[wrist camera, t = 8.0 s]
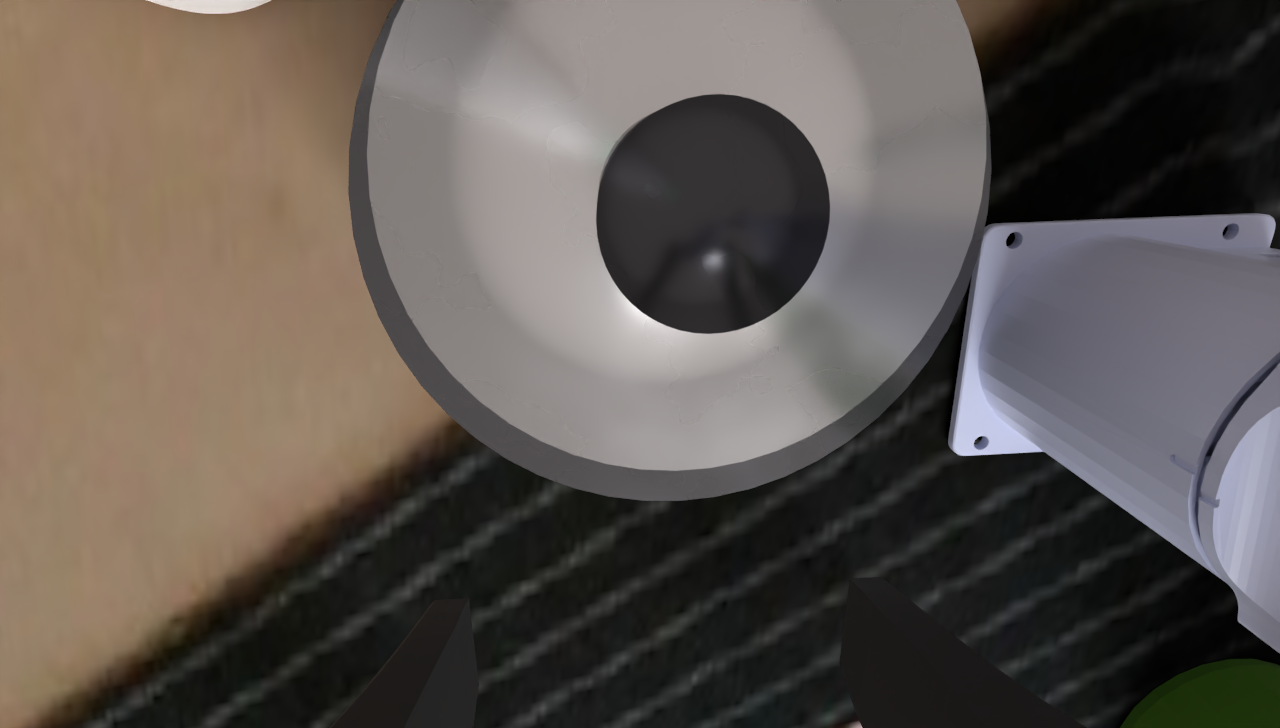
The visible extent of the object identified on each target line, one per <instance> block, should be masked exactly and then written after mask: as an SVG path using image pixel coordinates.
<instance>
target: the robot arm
mask: <svg viewBox="0 0 1280 728" xmlns="http://www.w3.org/2000/svg"><path fill="white" fill-rule="evenodd" d="M1227 225H1228V230H1227V232H1226V233H1225V235H1223V230H1224V228H1225V227H1226V226H1227ZM1275 225H1276V223H1275V220H1274V218H1273V217H1271V216H1270V215H1266V214H1259V213H1244V214H1219V215H1194V216H1169V217H1143V218H1118V219H1093V220H1068V221H1042V222H1017V223H994V224H990V225H988V226H986V227H985V228H984V232H983V237H982V242H981V247H980V251H979V255H978V258H977V261H976V264H975V267H974V270H973V273H972V277H971V284H970V291H969V298H968V305H967V312H966V319H965V326H964V333H963V340H962V347H961V354H960V361H959V368H958V375H957V382H956V389H955V396H954V402H953V409H952V416H951V423H950V430H949V437H948V445H949V446H950V448H951V449H952V450H953V451H954V452H955V453H957V454H958V455H962V456H972V455H990V454H1009V453H1027V452H1045V453H1047V454H1048V455H1049V456H1051V457H1052V458H1054V459H1055V460H1056V461H1058V462H1059V463H1061V464H1062V465H1063V466H1065V467H1066V468H1067V469H1069V470H1070V471H1072V472H1073V473H1074V474H1076V475H1077V476H1079V477H1080V478H1081V479H1083V480H1084V481H1086V482H1087V483H1088V484H1090V485H1091V486H1092V487H1094V488H1095V489H1097V490H1098V491H1099V492H1101V493H1102V494H1104V495H1105V496H1106V497H1108V498H1109V499H1111V500H1112V501H1113V502H1115V503H1116V504H1117V505H1119V506H1120V507H1122V508H1123V509H1124V510H1126V511H1127V512H1129V513H1130V514H1131V515H1133V516H1134V517H1135V518H1137V519H1138V520H1140V521H1141V522H1142V523H1144V524H1145V525H1147V526H1148V527H1149V528H1151V529H1152V530H1154V531H1155V532H1156V533H1158V534H1159V535H1160V536H1162V537H1163V538H1165V539H1166V540H1167V541H1169V542H1170V543H1172V544H1173V545H1174V546H1176V547H1177V548H1179V549H1180V550H1181V551H1183V552H1184V553H1185V554H1187V555H1188V556H1190V557H1191V558H1192V559H1194V560H1195V561H1197V562H1198V563H1199V564H1201V565H1202V566H1203V567H1205V568H1206V569H1208V570H1209V571H1210V572H1212V573H1213V574H1215V575H1216V576H1217V577H1219V578H1220V579H1222V580H1223V581H1224V582H1226V583H1227V584H1228V585H1229V586H1230V587H1231V588H1232V590H1233V591H1234V593H1235V595H1236V598H1237V601H1238V622H1239V623H1241V624H1242V625H1243V626H1244V627H1246V628H1247V629H1248V630H1250V631H1251V632H1252V633H1254V634H1255V635H1256V636H1257V637H1259V638H1260V639H1261V640H1263V641H1264V642H1265V643H1267V644H1268V645H1269V646H1270V647H1272V648H1273V649H1274V650H1276V651H1277V652H1278V653H1280V250H1279V249H1273V248H1270V245H1271V241H1272V238H1273V235H1274V231H1275ZM1011 233H1014V234H1015V240H1014V242H1013V243H1012V244H1011V245H1010V246H1007V245H1006V239H1007V237H1008V236H1009V235H1010V234H1011ZM981 436H982V437H983V438H982V440H981V441H980V442H979V443H978V444H975V445H974V442H975V440H976V439H977V438H978V437H981ZM840 666H841V669H842V672H843V676H844V679H845V682H846V685H847V688H848V691H849V694H850V697H851V699H852V702H853V705H854V708H855V711H856V714H857V716H858V719H859V721H860V723H861V725H862V727H863V728H1086V727H1084V726H1083V725H1081V724H1080V723H1078V722H1076V721H1075V720H1073V719H1071V718H1070V717H1068V716H1067V715H1065V714H1063V713H1062V712H1060V711H1059V710H1057V709H1055V708H1054V707H1052V706H1051V705H1049V704H1048V703H1046V702H1045V701H1043V700H1042V699H1040V698H1039V697H1037V696H1036V695H1034V694H1033V693H1031V692H1030V691H1029V690H1027V689H1026V688H1024V687H1023V686H1021V685H1020V684H1019V683H1017V682H1016V681H1014V680H1013V679H1012V678H1010V677H1009V676H1007V675H1006V674H1004V673H1003V672H1002V671H1000V670H999V669H997V668H996V667H995V666H993V665H992V664H991V663H989V662H988V661H987V660H985V659H984V658H983V657H981V656H980V655H979V654H977V653H976V652H975V651H973V650H972V649H971V648H969V647H968V646H967V645H966V644H964V643H963V642H962V641H960V640H959V639H958V638H957V637H955V636H954V635H953V634H952V633H950V632H949V631H948V630H946V629H945V628H944V627H943V626H941V625H940V624H939V623H938V622H936V621H935V620H934V619H933V618H932V617H930V616H929V615H928V614H927V613H925V612H924V611H923V610H922V609H920V608H919V607H918V606H917V605H915V604H914V603H913V602H912V601H911V600H909V599H908V598H907V597H906V596H904V595H903V594H902V593H901V592H899V591H898V590H897V589H896V588H894V587H893V586H892V585H891V584H889V583H888V582H887V581H885V580H884V579H883V578H881V577H873V578H853V579H850V581H849V589H848V597H847V605H846V614H845V622H844V630H843V638H842V647H841V655H840ZM478 688H479V682H478V673H477V665H476V656H475V648H474V639H473V631H472V622H471V614H470V605H469V598H467V599H447V600H435V601H434V602H433V603H432V604H431V605H430V606H429V607H428V609H427V610H426V611H425V613H424V614H423V615H422V617H421V618H420V619H419V621H418V622H417V623H416V625H415V626H414V627H413V629H412V630H411V631H410V633H409V634H408V635H407V637H406V638H405V639H404V640H403V642H402V643H401V644H400V646H399V647H398V648H397V649H396V651H395V652H394V653H393V655H392V656H391V657H390V658H389V660H388V661H387V662H386V663H385V664H384V666H383V667H382V668H381V669H380V670H379V672H378V673H377V674H376V675H375V677H374V678H373V679H372V680H371V681H370V683H369V684H368V685H367V686H366V687H365V689H364V690H363V691H362V692H361V693H360V695H359V696H358V697H357V698H356V699H355V700H354V701H353V702H352V704H351V705H350V706H349V707H348V708H347V709H346V710H345V711H344V712H343V714H342V715H341V716H340V717H339V718H338V719H337V720H336V721H335V722H334V723H333V725H332V726H331V727H330V728H473V724H474V717H475V710H476V703H477V695H478Z"/></svg>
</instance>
